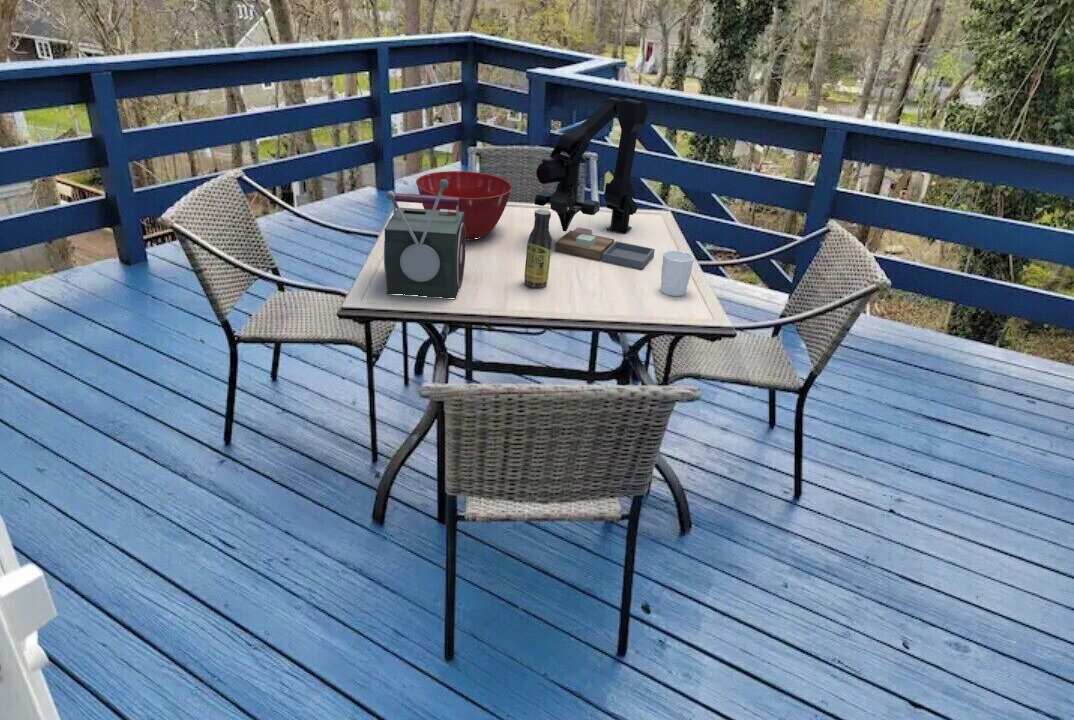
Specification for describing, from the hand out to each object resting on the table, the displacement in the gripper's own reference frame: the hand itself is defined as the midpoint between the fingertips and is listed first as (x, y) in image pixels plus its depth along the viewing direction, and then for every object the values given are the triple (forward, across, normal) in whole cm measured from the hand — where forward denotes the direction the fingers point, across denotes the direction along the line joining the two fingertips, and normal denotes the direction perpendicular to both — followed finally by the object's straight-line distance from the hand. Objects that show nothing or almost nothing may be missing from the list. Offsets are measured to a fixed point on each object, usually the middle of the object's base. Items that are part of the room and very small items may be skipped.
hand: (564, 231), depth 224 cm
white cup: (+4, +39, -18) cm, 43 cm away
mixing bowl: (+4, -29, -9) cm, 31 cm away
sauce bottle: (+4, +6, -34) cm, 34 cm away
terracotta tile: (+1, +6, 0) cm, 6 cm away
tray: (+4, +21, -2) cm, 22 cm away
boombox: (+4, -19, -48) cm, 52 cm away
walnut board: (+4, +8, -2) cm, 9 cm away
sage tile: (+1, +9, -5) cm, 10 cm away
